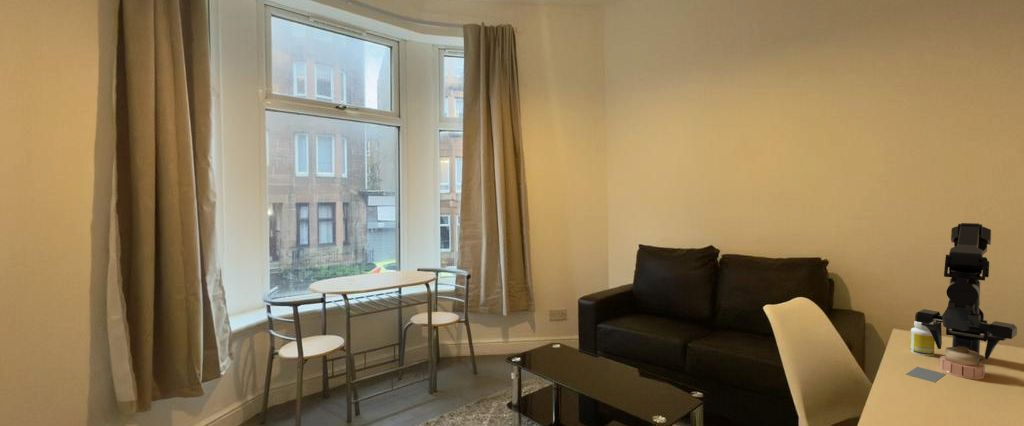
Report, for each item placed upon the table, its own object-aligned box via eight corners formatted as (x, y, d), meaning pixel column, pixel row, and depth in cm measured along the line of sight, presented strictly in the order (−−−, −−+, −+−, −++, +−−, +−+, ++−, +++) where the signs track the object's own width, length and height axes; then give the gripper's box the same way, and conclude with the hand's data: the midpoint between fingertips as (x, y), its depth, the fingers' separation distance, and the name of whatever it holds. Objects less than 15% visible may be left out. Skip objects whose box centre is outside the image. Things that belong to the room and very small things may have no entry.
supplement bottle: (938, 357, 132) (939, 325, 132) (917, 356, 133) (918, 324, 133) (925, 351, 138) (926, 320, 137) (905, 350, 139) (906, 319, 138)
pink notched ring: (945, 365, 127) (946, 353, 126) (988, 375, 119) (988, 362, 119) (935, 372, 122) (936, 359, 122) (978, 383, 115) (979, 370, 115)
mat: (917, 368, 125) (917, 366, 125) (946, 375, 120) (946, 373, 120) (905, 375, 121) (905, 374, 121) (934, 383, 115) (934, 382, 115)
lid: (949, 355, 125) (950, 342, 125) (982, 362, 120) (982, 348, 119) (942, 360, 122) (942, 346, 121) (975, 368, 116) (975, 354, 116)
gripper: (908, 295, 123) (907, 350, 124) (1007, 310, 107) (1004, 372, 108) (922, 289, 129) (921, 341, 130) (1018, 302, 113) (1016, 362, 114)
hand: (962, 353), depth 121 cm, fingers open, 9 cm apart
